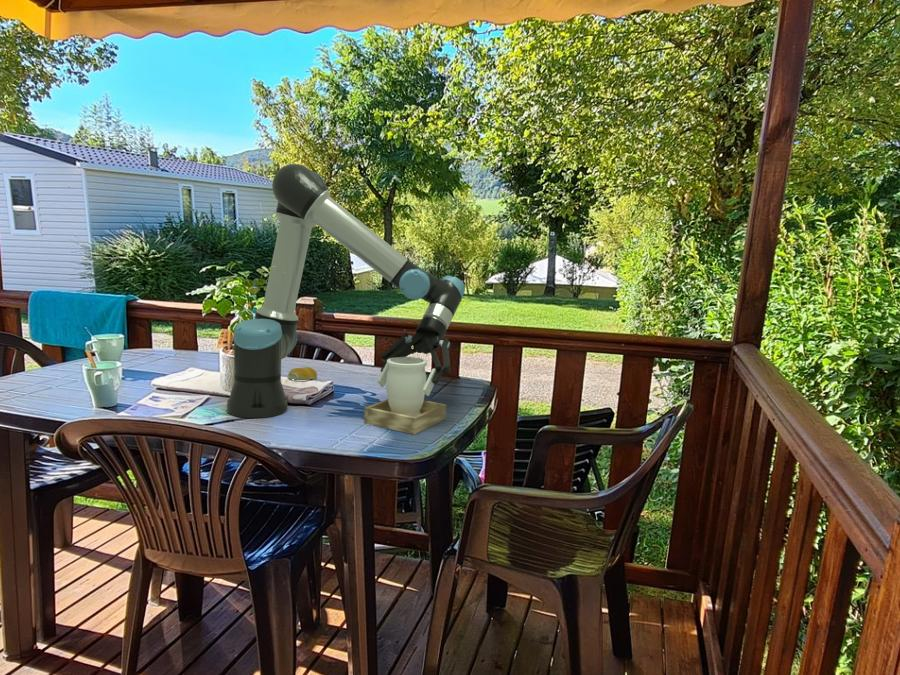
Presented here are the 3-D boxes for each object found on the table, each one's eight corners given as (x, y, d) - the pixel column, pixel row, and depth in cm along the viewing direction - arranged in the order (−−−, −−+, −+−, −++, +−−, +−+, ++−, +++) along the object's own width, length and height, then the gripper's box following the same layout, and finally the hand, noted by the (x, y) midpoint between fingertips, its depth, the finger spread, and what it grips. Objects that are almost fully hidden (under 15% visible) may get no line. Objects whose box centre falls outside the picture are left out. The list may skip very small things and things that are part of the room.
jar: (430, 421, 148) (432, 363, 146) (390, 424, 145) (391, 365, 142) (419, 410, 158) (420, 355, 156) (381, 412, 155) (382, 356, 152)
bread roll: (321, 379, 192) (322, 367, 192) (300, 383, 185) (300, 371, 184) (304, 374, 197) (304, 363, 196) (283, 378, 189) (283, 366, 189)
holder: (363, 422, 148) (364, 407, 147) (397, 409, 162) (398, 395, 161) (414, 434, 141) (415, 418, 140) (445, 419, 155) (446, 404, 154)
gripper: (479, 338, 156) (450, 404, 145) (400, 327, 167) (368, 388, 156) (472, 320, 150) (441, 388, 140) (391, 310, 162) (356, 372, 151)
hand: (402, 388), depth 148 cm, fingers open, 13 cm apart
